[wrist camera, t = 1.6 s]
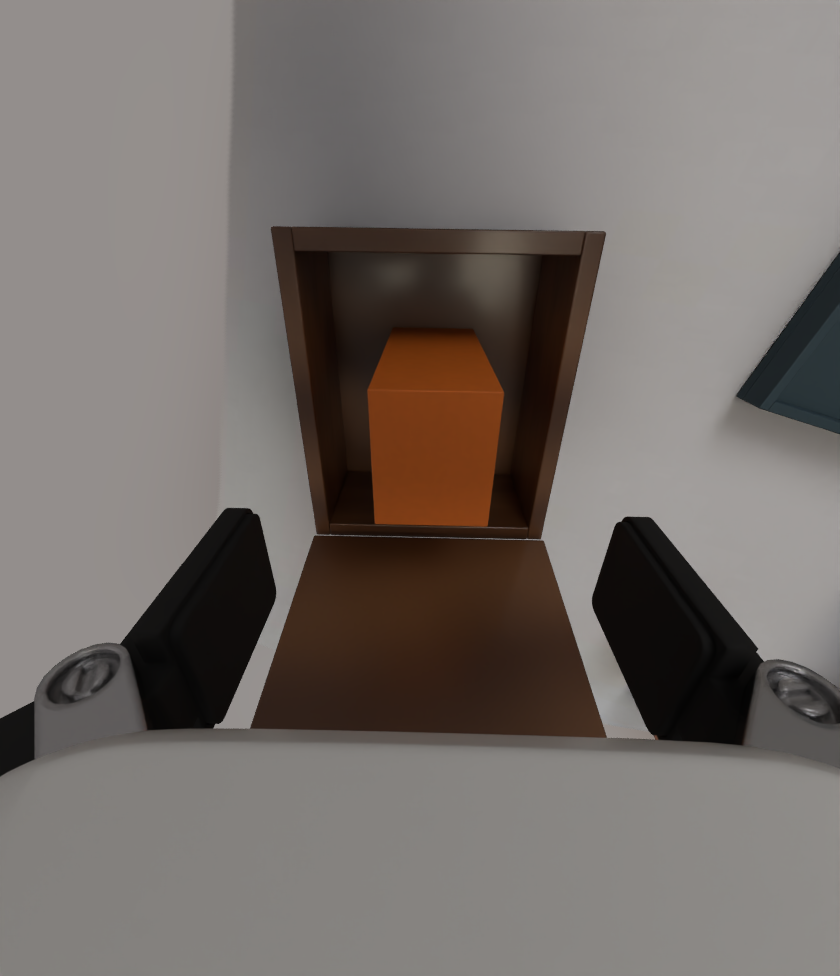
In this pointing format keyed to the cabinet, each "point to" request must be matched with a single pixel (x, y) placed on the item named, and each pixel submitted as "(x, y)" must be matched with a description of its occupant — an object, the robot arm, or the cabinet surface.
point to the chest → (434, 304)
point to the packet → (433, 428)
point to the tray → (804, 362)
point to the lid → (428, 642)
